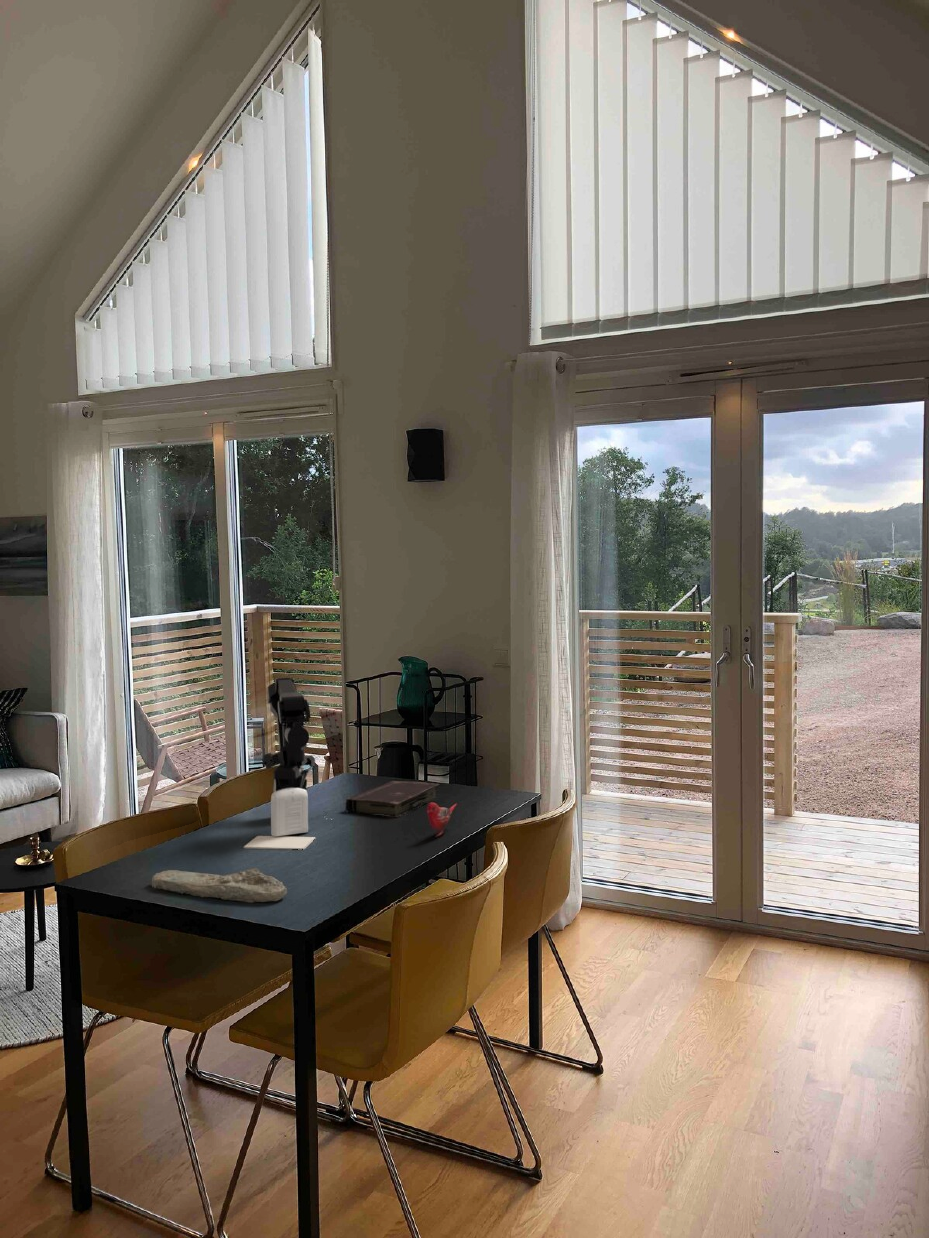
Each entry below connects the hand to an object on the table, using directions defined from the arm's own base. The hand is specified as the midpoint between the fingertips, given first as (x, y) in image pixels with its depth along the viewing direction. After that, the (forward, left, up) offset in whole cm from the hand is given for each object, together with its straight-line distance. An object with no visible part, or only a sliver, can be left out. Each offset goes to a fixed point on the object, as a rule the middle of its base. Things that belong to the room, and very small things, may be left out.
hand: (295, 798), depth 275 cm
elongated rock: (+51, -2, -9) cm, 52 cm away
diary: (-29, +21, -9) cm, 37 cm away
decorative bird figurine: (+1, +41, -9) cm, 42 cm away
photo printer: (+5, 0, -9) cm, 10 cm away
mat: (+13, 0, -9) cm, 16 cm away
